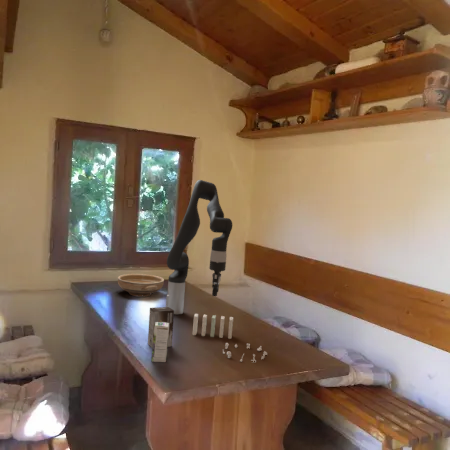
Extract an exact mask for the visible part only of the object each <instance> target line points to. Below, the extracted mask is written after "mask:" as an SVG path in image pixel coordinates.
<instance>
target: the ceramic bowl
mask: <svg viewBox="0 0 450 450" xmlns="http://www.w3.org/2000/svg"><path fill="white" fill-rule="evenodd" d="M164 281H165V279H164V278H163V277H161V276H157V275H153V274H145V273H128V274H127V273H125V274H121V275H119V276H117V284H118V286H119V287H120V288H121V289H122V290H124V291H125V292H128V293H129V295H131V296H134V297H148V296H151V294H152V293H153V294H154V293H156V292H158V291H159V290H161V289H162V287H163V286H164Z"/></svg>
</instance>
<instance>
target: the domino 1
mask: <svg viewBox="0 0 450 450" xmlns="http://www.w3.org/2000/svg"><path fill="white" fill-rule="evenodd" d="M198 321H199V313H194V315H193V321H192V323H193V324H192V325H193V326H192V336H197V334H198V324H199V322H198Z"/></svg>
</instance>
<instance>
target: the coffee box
mask: <svg viewBox="0 0 450 450" xmlns="http://www.w3.org/2000/svg"><path fill="white" fill-rule="evenodd" d="M174 315H175V314H174V310H173V309H171V308H170V307H166V306H164V307H163V306H161V307H158V306H157V307H149V316H148V319H149V320H148V331H147V332H148V333H147V344H148V345H149V347H150V348H152V347H153V337H154V327H155V323H156V322H165V323H169V333H168V345H167V348H168V347H173V333H174V317H175V316H174Z"/></svg>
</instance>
